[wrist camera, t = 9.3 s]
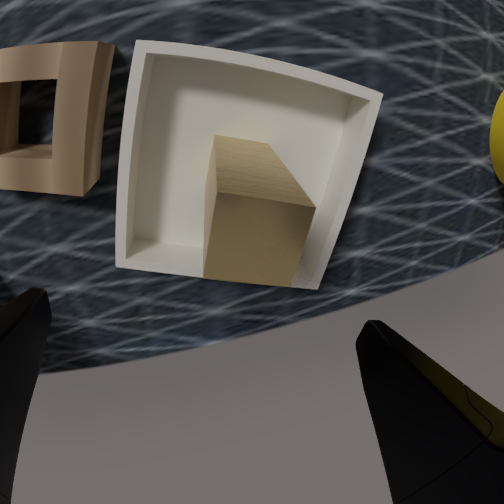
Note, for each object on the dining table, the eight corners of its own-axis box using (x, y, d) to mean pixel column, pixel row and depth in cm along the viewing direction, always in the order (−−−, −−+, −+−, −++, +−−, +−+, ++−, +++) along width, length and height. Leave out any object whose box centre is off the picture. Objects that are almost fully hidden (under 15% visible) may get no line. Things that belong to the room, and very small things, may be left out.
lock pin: (205, 185, 18) (202, 278, 11) (214, 134, 17) (217, 191, 9) (256, 192, 19) (290, 287, 11) (267, 143, 17) (316, 207, 10)
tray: (126, 241, 20) (115, 266, 17) (148, 45, 14) (136, 39, 12) (305, 263, 23) (317, 289, 20) (359, 89, 17) (383, 93, 14)
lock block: (-3, 170, 16) (-27, 187, 13) (3, 52, 12) (-25, 53, 9) (99, 178, 18) (83, 196, 15) (115, 45, 14) (97, 41, 11)
